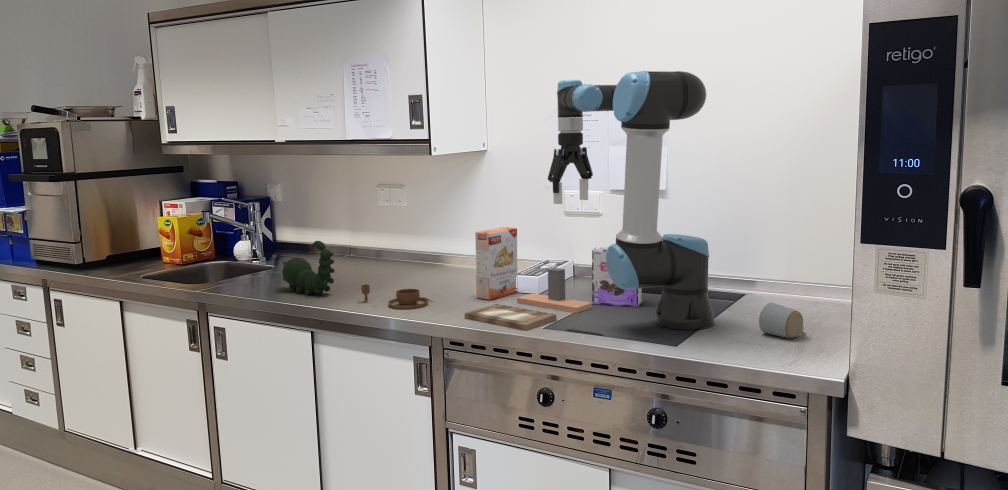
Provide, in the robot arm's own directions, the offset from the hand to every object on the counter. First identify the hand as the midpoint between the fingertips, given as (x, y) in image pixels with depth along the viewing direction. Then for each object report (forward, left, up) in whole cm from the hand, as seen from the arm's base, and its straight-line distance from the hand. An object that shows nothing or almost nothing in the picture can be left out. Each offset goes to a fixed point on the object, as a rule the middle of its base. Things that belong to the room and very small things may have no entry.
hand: (571, 201), depth 234 cm
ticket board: (-5, +36, -29) cm, 46 cm away
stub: (-5, +16, -29) cm, 33 cm away
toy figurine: (+72, +48, -29) cm, 91 cm away
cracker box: (+17, +16, -29) cm, 37 cm away
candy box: (-19, +4, -29) cm, 35 cm away
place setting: (+35, +40, -30) cm, 61 cm away
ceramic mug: (-70, +8, -29) cm, 76 cm away
